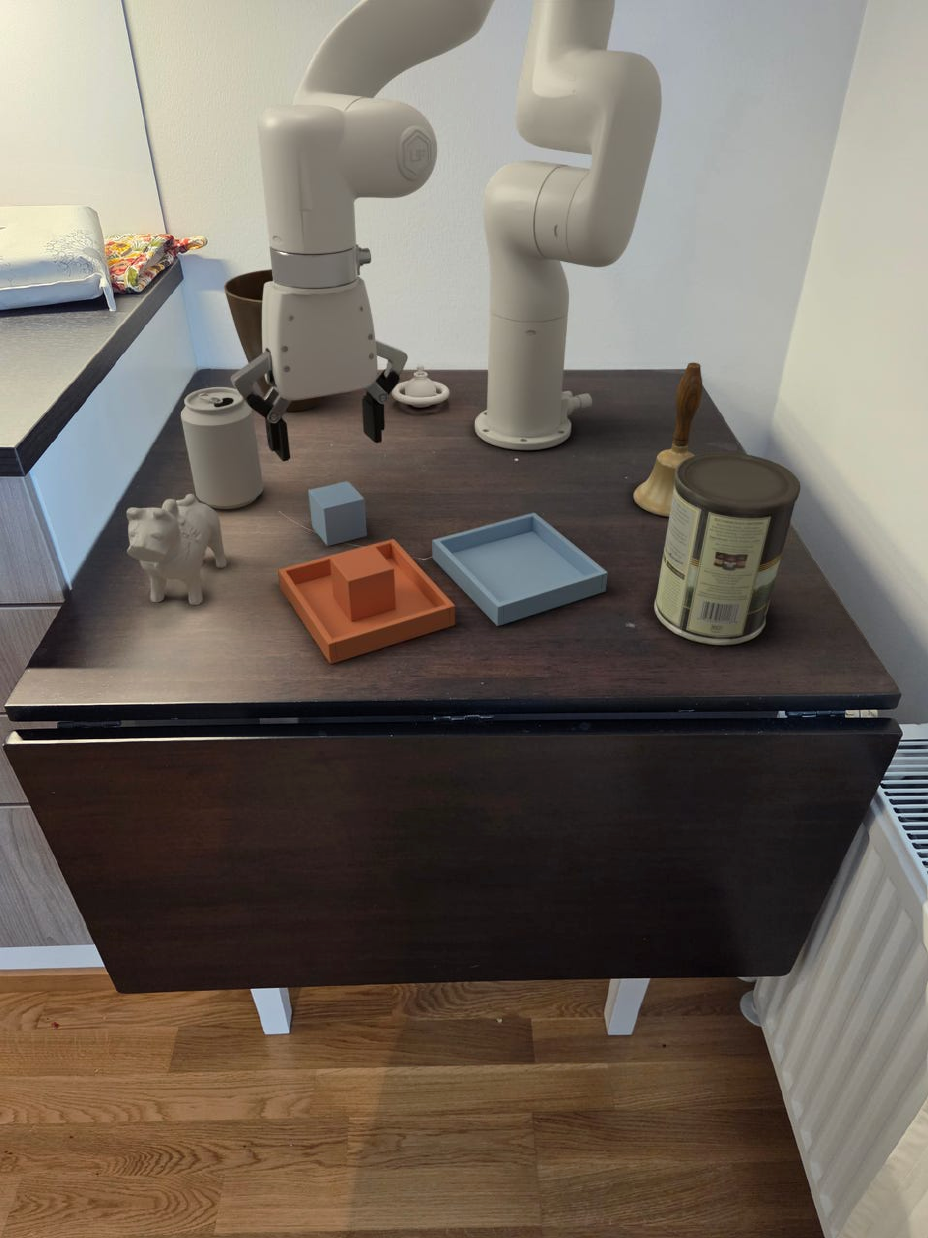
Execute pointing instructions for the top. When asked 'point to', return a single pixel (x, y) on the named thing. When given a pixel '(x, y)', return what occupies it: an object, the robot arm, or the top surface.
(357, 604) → the terracotta block
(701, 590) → the coffee can
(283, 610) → the top surface
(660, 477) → the hand bell
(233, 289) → the flower pot
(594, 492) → the top surface
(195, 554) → the dog figurine
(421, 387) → the ring around a ball
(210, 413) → the can
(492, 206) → the robot arm
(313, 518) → the blue block
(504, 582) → the blue tray
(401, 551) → the terracotta tray
